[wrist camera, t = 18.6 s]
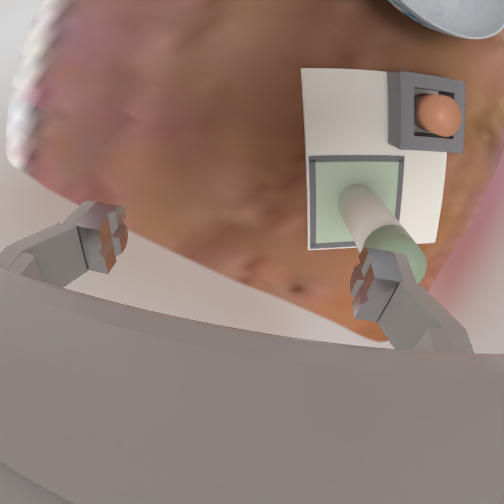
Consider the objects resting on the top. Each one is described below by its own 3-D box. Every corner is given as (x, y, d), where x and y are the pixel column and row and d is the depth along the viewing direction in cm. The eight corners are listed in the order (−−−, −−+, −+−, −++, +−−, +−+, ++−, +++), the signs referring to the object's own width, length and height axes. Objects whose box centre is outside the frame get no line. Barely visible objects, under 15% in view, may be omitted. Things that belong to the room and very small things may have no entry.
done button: (409, 91, 23) (427, 92, 20) (441, 95, 23) (461, 98, 20) (409, 128, 25) (427, 135, 22) (440, 131, 24) (460, 138, 21)
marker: (338, 185, 29) (376, 247, 18) (377, 183, 28) (431, 243, 18) (337, 223, 31) (369, 298, 20) (375, 221, 30) (420, 292, 20)
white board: (300, 68, 24) (306, 65, 21) (444, 80, 24) (464, 81, 20) (307, 246, 33) (311, 265, 30) (432, 239, 32) (446, 255, 29)
